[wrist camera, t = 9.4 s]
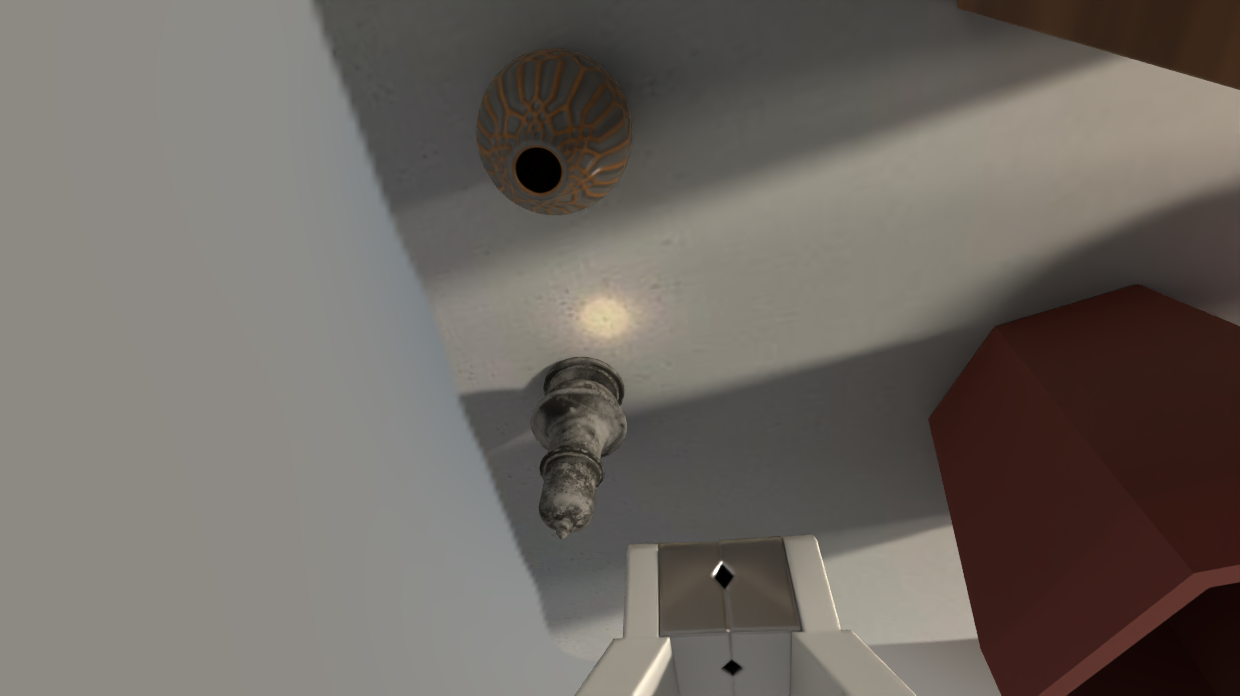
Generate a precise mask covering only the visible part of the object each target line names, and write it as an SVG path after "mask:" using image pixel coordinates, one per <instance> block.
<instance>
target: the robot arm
mask: <svg viewBox="0 0 1240 696" xmlns="http://www.w3.org/2000/svg"><path fill="white" fill-rule="evenodd" d="M575 696H917V695H916V694H915V693H914V692H913V691H912V690H910V688H909V687H908V686H907V685H906V684H905V683H904V682H903V681H902V680H901V679H900V678H899V677H898V676H897V675H896V674H894V672H893V671H892V670H891V669H890V668H889V667H888V666H887V665H886V664H885V663H884V662H883V661H882V660H881V659H880V658H879V657H878V656H876V654H875V653H874V652H873V651H872V650H871V649H870V648H869V647H868V646H867V645H866V644H865V643H864V642H863V641H862V640H861V639H860V638H859V637H858V636H857V635H856V634H855V633H854V632H853V631H852V630H841V628H840V624H839V620H838V616H837V613H836V609H835V605H834V601H833V598H832V594H831V590H830V587H829V583H828V579H827V575H826V572H825V568H824V564H823V560H822V557H821V553H820V549H819V546H818V542H817V540H816V538H815V537H814V536H813V535H802V536H786V537H780V536H773V537H759V538H744V539H730V540H719V542H686V543H660V544H659V543H654V544H632V545H629V546H628V550H627V554H626V576H625V600H624V623H623V638H620V639H613V641H612V642H611V644H610V645H609V647H608V648H607V649H606V651H605V652H604V654H603V655H602V657H601V658H600V660H599V661H598V662H597V664H596V665H595V667H594V668H593V670H592V671H591V673H590V674H589V675H588V677H587V678H586V680H585V681H584V683H583V684H582V686H581V687H580V688H579V690H578V691H577V693H576V694H575Z"/></svg>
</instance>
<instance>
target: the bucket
mask: <svg viewBox="0 0 1240 696" xmlns="http://www.w3.org/2000/svg"><path fill="white" fill-rule="evenodd" d="M929 424H930V428H931V432H932V437H933V441H934V446H935V450H936V454H937V459H938V463H939V468H940V472H941V476H942V481H943V485H944V490H945V494H946V498H947V503H948V507H949V512H950V516H951V520H952V525H953V529H954V534H955V538H956V542H957V547H958V551H959V556H960V560H961V564H962V569H963V573H964V578H965V582H966V586H967V591H968V595H969V600H970V604H971V608H972V613H973V617H974V622H975V626H976V630H977V635H978V639H979V643H980V648H981V650H982V653H983V655H984V657H985V660H986V662H987V664H988V666H989V668H990V671H991V673H992V675H993V677H994V679H995V682H996V684H997V686H998V689H999V691H1000V693H1001V695H1002V696H1240V326H1238V325H1235V324H1233V323H1230V322H1228V321H1226V320H1223V319H1221V318H1218V317H1216V316H1214V315H1211V314H1209V313H1206V312H1204V311H1202V310H1199V309H1197V308H1194V307H1192V306H1190V305H1187V304H1185V303H1183V302H1180V301H1178V300H1175V299H1173V298H1171V297H1168V296H1166V295H1163V294H1161V293H1159V292H1156V291H1154V290H1151V289H1149V288H1147V287H1144V286H1142V285H1139V284H1136V285H1133V286H1130V287H1126V288H1123V289H1119V290H1116V291H1113V292H1109V293H1106V294H1103V295H1099V296H1096V297H1093V298H1089V299H1086V300H1082V301H1079V302H1076V303H1072V304H1069V305H1066V306H1062V307H1059V308H1056V309H1052V310H1049V311H1045V312H1042V313H1039V314H1035V315H1032V316H1029V317H1025V318H1022V319H1019V320H1015V321H1012V322H1008V323H1005V324H1002V325H998V326H995V327H994V329H993V330H992V331H991V333H990V334H989V336H988V337H987V338H986V340H985V341H984V343H983V344H982V345H981V347H980V348H979V350H978V351H977V352H976V354H975V355H974V356H973V358H972V359H971V361H970V362H969V363H968V365H967V366H966V368H965V369H964V370H963V372H962V373H961V375H960V376H959V377H958V379H957V380H956V382H955V383H954V384H953V386H952V387H951V388H950V390H949V391H948V393H947V394H946V395H945V397H944V398H943V400H942V401H941V402H940V404H939V405H938V407H937V408H936V409H935V411H934V412H933V413H932V415H931V416H930V418H929Z"/></svg>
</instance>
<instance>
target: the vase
mask: <svg viewBox="0 0 1240 696" xmlns="http://www.w3.org/2000/svg"><path fill="white" fill-rule="evenodd" d="M476 134H477V144H478V150H479V154H480V157H481V160H482V163H483V166H484V168H485V170H486V172H487V174H488V176H489V177H490V179H491V180H492V182H493V183H494V185H495V186H496V187H497V188H498V189H499V190H500V191H501V192H502V193H503V194H504V195H505V196H506V197H507V198H508V199H510V200H511V201H512V202H514V203H515V204H517V205H519V206H521V207H523V208H525V209H527V210H530V211H533V212H536V213H540V214H546V215H564V214H570V213H574V212H577V211H580V210H583V209H585V208H587V207H589V206H591V205H593V204H594V203H596V202H597V201H599V200H600V199H601V198H603V197H604V196H605V195H606V194H607V193H608V192H609V191H610V190H611V189H612V188H613V187H614V185H615V184H616V183H617V181H618V180H619V178H620V177H621V175H622V173H623V171H624V169H625V167H626V164H627V161H628V158H629V154H630V150H631V144H632V122H631V115H630V111H629V107H628V104H627V101H626V98H625V96H624V94H623V92H622V90H621V88H620V86H619V85H618V83H617V82H616V80H615V79H614V78H613V77H612V75H611V74H610V73H609V72H608V71H607V70H606V69H605V68H604V67H602V66H601V65H600V64H599V63H597V62H596V61H594V60H593V59H591V58H589V57H587V56H585V55H583V54H581V53H578V52H575V51H571V50H567V49H559V48H548V49H541V50H536V51H533V52H530V53H527V54H525V55H523V56H520V57H518V58H517V59H515V60H513V61H512V62H511V63H509V64H508V65H507V66H505V67H504V68H503V69H502V70H501V71H500V72H499V73H498V74H497V75H496V77H495V78H494V79H493V80H492V82H491V83H490V85H489V86H488V88H487V90H486V92H485V94H484V96H483V98H482V101H481V104H480V108H479V111H478V117H477V131H476Z"/></svg>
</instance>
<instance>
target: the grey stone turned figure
mask: <svg viewBox="0 0 1240 696" xmlns="http://www.w3.org/2000/svg"><path fill="white" fill-rule="evenodd" d="M544 394H545V396H544V397H543V398H542V399H541V400H540V401H538V403H537V404H536V406H535V408H534V409H533V411H532V416H531V427H532V432H533V434H534V436H535V438H536V440H537V441H538V442H539V443H540V444H541V445H542V446H543V447H544V448H545V449H546V450H548V454H547V455H545V456H544V458H543V459H542V461H541V464H540V475H541V476H542V478H543V480H544V483H543V489H542V494H541V499H540V504H539V513H540V517H541V518H542V520H543V522H544V523H545V524H546V525H547V526H548V527H550V528H551V529H553V530H555V531H556V533H557V535H558V536H559V537H560V539H564V538H566V537H567V536H568V535H569V533H572V532H577V531H580V530H581V529H583V528H584V527H586V526H587V525H588V524H589V523H590V521H591V519H592V516H593V513H594V503H595V494H596V488H597V487H598V486H599V485H600V484H601V482H602V481H603V478H604V467H603V465H602V463H601V461H600V458H603V457H605V456H607V455H610V454H611V453H612V452H614V451H615V450H616V449H618V448H619V446H620V445H621V443H622V442H623V441H624V438H625V435H626V432H627V420H626V418H625V415H624V412H623V410H622V409H621V408H620V405H621V404H622V401H623V398H624V385H623V382H622V379H621V377H620V376H619V375H618V373H617V372H616V371H615V370H614V369H613V368H612V367H610V366H609V365H608V364H606V363H604V362H602V361H599V360H597V359H592V358H587V357H576V358H571V359H567V360H564V361H562V362H560V363H558V364H556V365H555V366H554V367H553V368H552V369H551V370H550V371H549V373H548V375H547V376H546V378H545V383H544Z"/></svg>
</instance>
